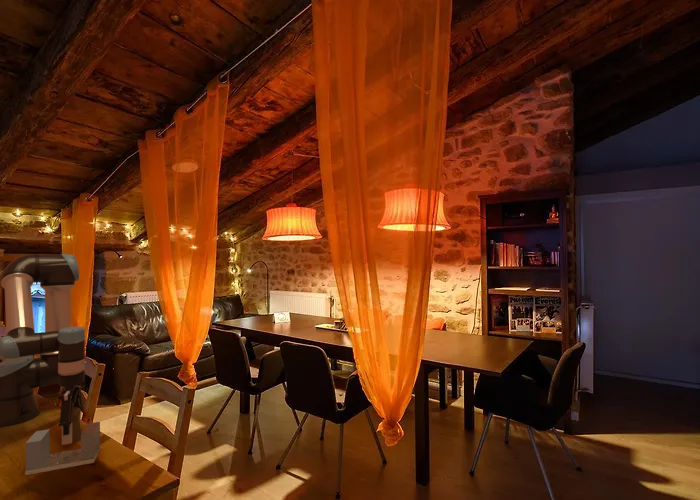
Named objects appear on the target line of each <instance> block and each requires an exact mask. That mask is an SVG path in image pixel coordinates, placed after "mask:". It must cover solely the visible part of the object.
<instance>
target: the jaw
mask: <svg viewBox="0 0 700 500" xmlns="http://www.w3.org/2000/svg"><path fill="white" fill-rule="evenodd" d="M50 435H51V429H50V428H48V429H43V430H35V432H34V433H33V434H32V435H31V437H30V438H29V439H28V440H27V441H26V442H25V471H26V470H30V469H36V468H41V466H42V465H43V464H44V462H45V461H46V459H47V458H48V456H49V455H50V454H51V436H50Z"/></svg>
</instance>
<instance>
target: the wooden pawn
mask: <svg viewBox="0 0 700 500" xmlns="http://www.w3.org/2000/svg"><path fill="white" fill-rule="evenodd" d="M80 414H81V415H82V410H80V408H78V407H73V412H72V420H71V423H72V443H70V444H69V445H71V444H72V445H73V444H75V443H78V442H81V433H82V426H81V427H80V421H79V416H80ZM60 444H61V445H62V437H61V438H60ZM64 445H66V446H67V445H68V444H64Z"/></svg>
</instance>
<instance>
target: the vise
mask: <svg viewBox="0 0 700 500" xmlns="http://www.w3.org/2000/svg"><path fill="white" fill-rule="evenodd" d="M100 451H101V422H100V421H95V422H87V424H86V425H85V426H84V428H83V430H82V431H81V440H80V448H76V449H71V450H70V449H69V450H66V451H65V450H64V451H59V452H53V453H50V455H49V456H48V458H47V459H46V461H45V462H44V464H43V465H42V466H41V468H36V469H30V470H26V469H25V471H24V476H29V475H35V474H40V473H45V472H51V471H57V470H62V469H66V468H67V469H68V468H73V467H77V466H83V465H88V464H89V465H90V464H94V463H95V461H96V459H97V457H98V454H99V453H100Z"/></svg>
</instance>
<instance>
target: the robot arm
mask: <svg viewBox="0 0 700 500" xmlns="http://www.w3.org/2000/svg"><path fill="white" fill-rule="evenodd" d="M79 280H80V269H79V263H78V260H77V258H76V257H75V256H74V255H73V254H70V253H69V254H67V253H52V254H51V253H46V254H45V253H43V254H42V253H41V254H40V253H39V254H34V253H33V254H32V253H30V254H26V255H25V254H24V255H21V256H19V257H16V258H15V259H13V260H12V261H11V262H9V263H8V264H7V265H6V267H5V268H4V269H3V270H2V273H1V276H0V285H1V287H2V289H4V306H5V331H6V332H5V333H6V336H1V337H0V359H2V361H1V362H0V427H7V426H11V425H13V426H14V425H17V424H21V423H24V422H26V421H30V420H31V419H33V418H36V417H37V416H38V415H39V414H40V406H39V404H38V402H37V400H36V397H35V394H34V393H35V392H34V390H35V389H36V388H41V387H46V386H51V385H58V386H59V387H64V390H63V392H62V394H61V396H60V397H61V406H60V414H59V418H60V419H59V423H58V427H61V438H62V444H61V445H62V446H63V445H64V444H67V445H71V444H70V443H72V423H71V420H72V412H73V407H78V408H80V410H81V411H84V409H85V408H84V406H83V397H82V395H83V394H82V384H83V383H85V380H86V379H85V378H86V371H85V369H86V367H85V366H86V364H87V361H86V357H85V354H86V353H85V349H86V348H85V347H86V346H85V345H86V333H85V331H86V330H85V328H84V327H83V326H71V325H72V324H71V290H72V288H74V287H75V282H78V281H79ZM34 283H40V285H39V286H40V288H41V289H42V290H44V322H45V323H44V331H43V332H35V322H34V310H33V309H34V308H33V300H32V299H33V298H32V288H31V287H32V286H33V284H34ZM35 355H40V356H39V357H34V356H35ZM81 416H82V413H81V414H80V416H79V421H80V427H81V428H82V426H81V425H82V424H81V422H82V421H81V420H82V417H81ZM72 444H73V443H72Z"/></svg>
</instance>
